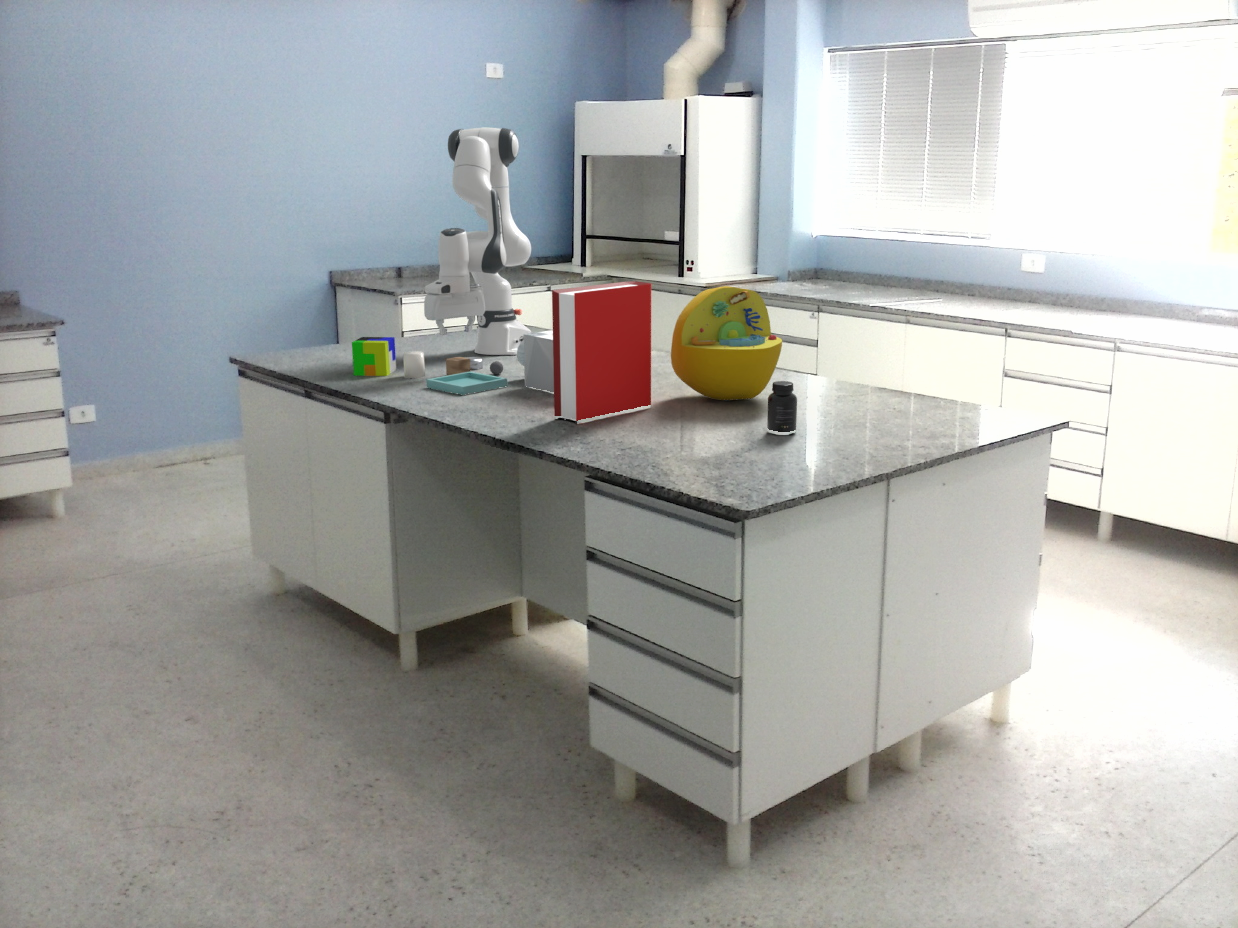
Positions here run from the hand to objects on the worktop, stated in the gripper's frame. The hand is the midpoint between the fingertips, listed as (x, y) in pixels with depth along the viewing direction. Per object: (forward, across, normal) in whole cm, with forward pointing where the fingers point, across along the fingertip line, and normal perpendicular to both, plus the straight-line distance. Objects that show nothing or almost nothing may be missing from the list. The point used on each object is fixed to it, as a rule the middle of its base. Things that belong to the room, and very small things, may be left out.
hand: (456, 333), depth 344 cm
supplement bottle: (+14, -6, +113) cm, 114 cm away
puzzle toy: (+13, +13, -22) cm, 29 cm away
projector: (+13, -10, +36) cm, 39 cm away
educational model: (+13, -26, +81) cm, 86 cm away
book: (+14, +7, +68) cm, 69 cm away
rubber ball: (+10, -9, +8) cm, 16 cm away
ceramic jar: (+13, +9, -8) cm, 18 cm away
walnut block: (+13, -1, 0) cm, 13 cm away
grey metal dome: (+12, -11, -6) cm, 18 cm away
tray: (+13, +9, +16) cm, 22 cm away
